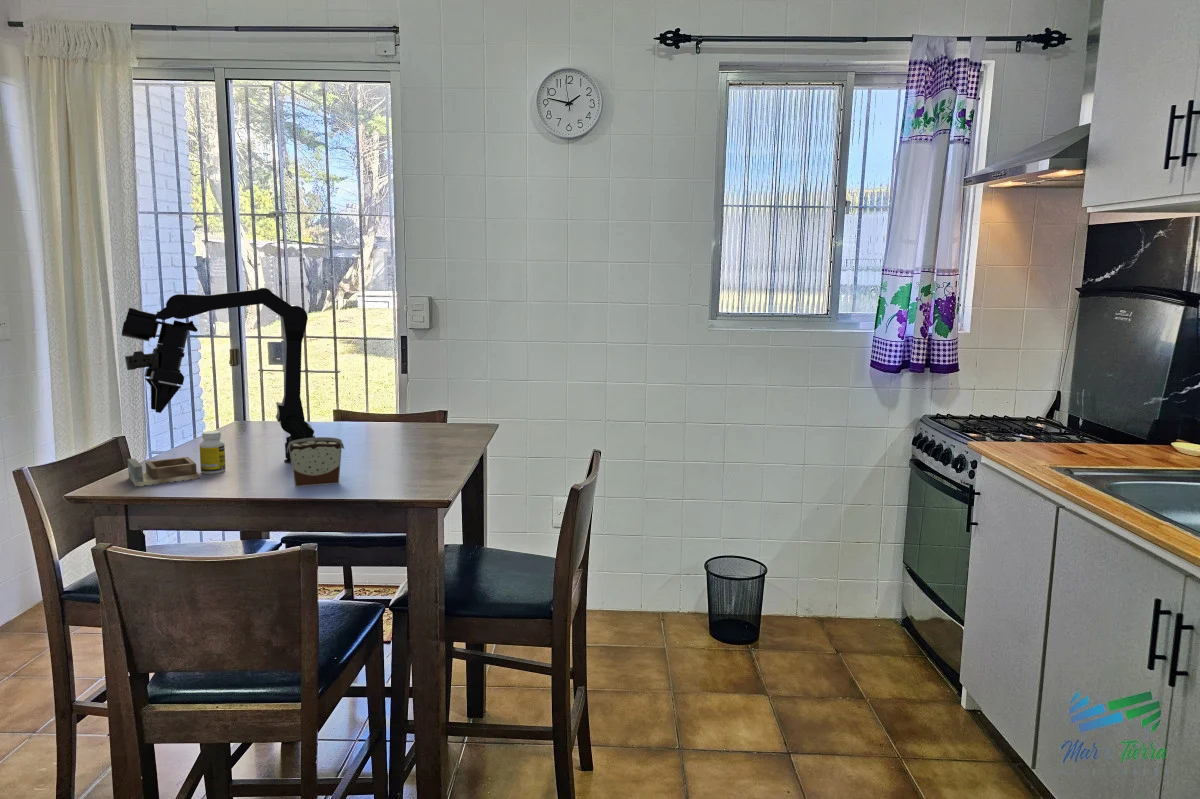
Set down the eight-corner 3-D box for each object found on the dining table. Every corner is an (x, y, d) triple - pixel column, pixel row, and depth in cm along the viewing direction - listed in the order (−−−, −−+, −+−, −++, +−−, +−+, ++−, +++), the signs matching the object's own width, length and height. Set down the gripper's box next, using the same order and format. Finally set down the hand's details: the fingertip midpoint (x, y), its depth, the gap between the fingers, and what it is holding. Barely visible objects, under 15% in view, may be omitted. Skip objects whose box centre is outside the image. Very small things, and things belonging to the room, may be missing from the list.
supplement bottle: (224, 473, 187) (221, 433, 186) (199, 475, 186) (196, 434, 184) (227, 468, 192) (225, 429, 191) (203, 470, 191) (200, 430, 189)
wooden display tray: (190, 470, 190) (189, 452, 190) (199, 478, 183) (198, 459, 182) (128, 477, 182) (127, 459, 182) (135, 486, 175) (134, 467, 174)
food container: (344, 476, 186) (342, 435, 184) (345, 483, 180) (344, 440, 179) (288, 481, 181) (286, 438, 180) (288, 487, 176) (286, 443, 174)
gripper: (128, 337, 188) (113, 401, 187) (135, 338, 173) (119, 407, 172) (179, 348, 194) (165, 410, 193) (191, 349, 179) (175, 416, 178)
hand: (155, 410), depth 184 cm, fingers open, 9 cm apart
